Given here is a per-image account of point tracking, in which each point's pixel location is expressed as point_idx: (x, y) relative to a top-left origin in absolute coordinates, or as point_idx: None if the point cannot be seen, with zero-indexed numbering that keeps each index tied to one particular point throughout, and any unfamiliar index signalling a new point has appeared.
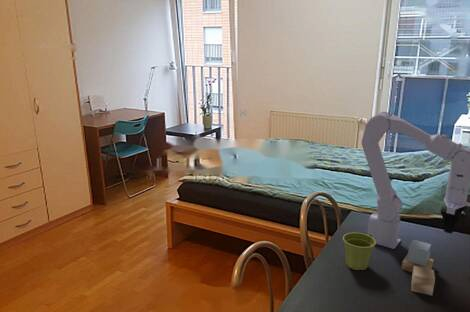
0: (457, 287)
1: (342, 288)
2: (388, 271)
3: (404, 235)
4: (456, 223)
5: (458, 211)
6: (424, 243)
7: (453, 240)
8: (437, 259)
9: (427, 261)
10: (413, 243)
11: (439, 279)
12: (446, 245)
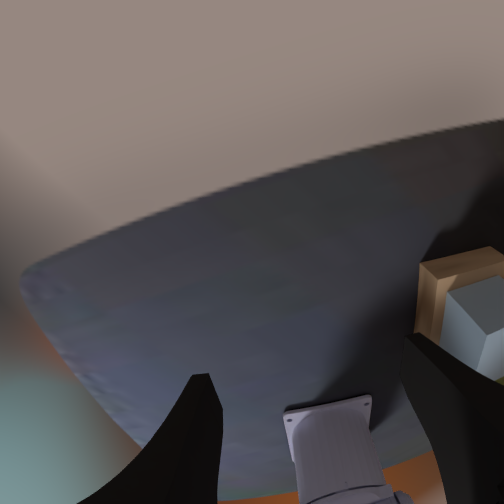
0: (492, 147)
1: None
2: None
3: (225, 417)
4: (205, 383)
5: (187, 489)
6: (488, 354)
7: (88, 293)
8: (340, 275)
9: (475, 286)
10: (500, 372)
11: (482, 210)
12: (161, 298)
